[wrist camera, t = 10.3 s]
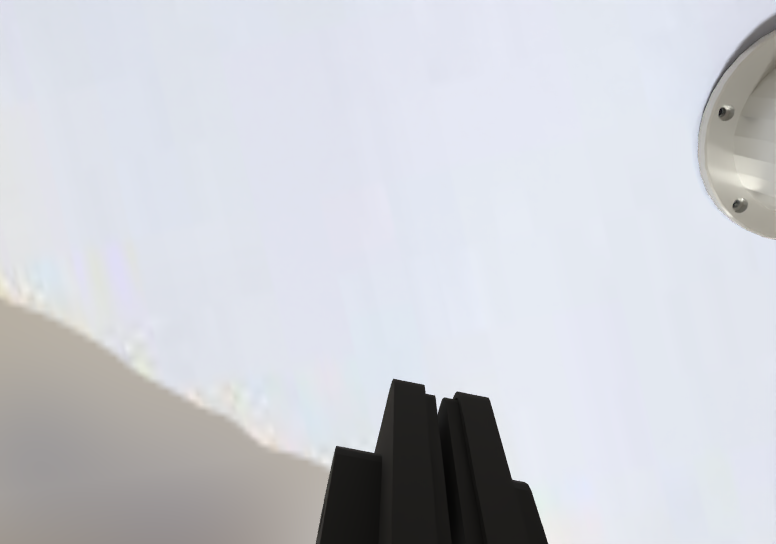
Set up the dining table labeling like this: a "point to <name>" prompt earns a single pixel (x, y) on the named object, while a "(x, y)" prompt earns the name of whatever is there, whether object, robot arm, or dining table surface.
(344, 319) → the dining table surface
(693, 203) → the dining table surface
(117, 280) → the dining table surface
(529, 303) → the dining table surface
